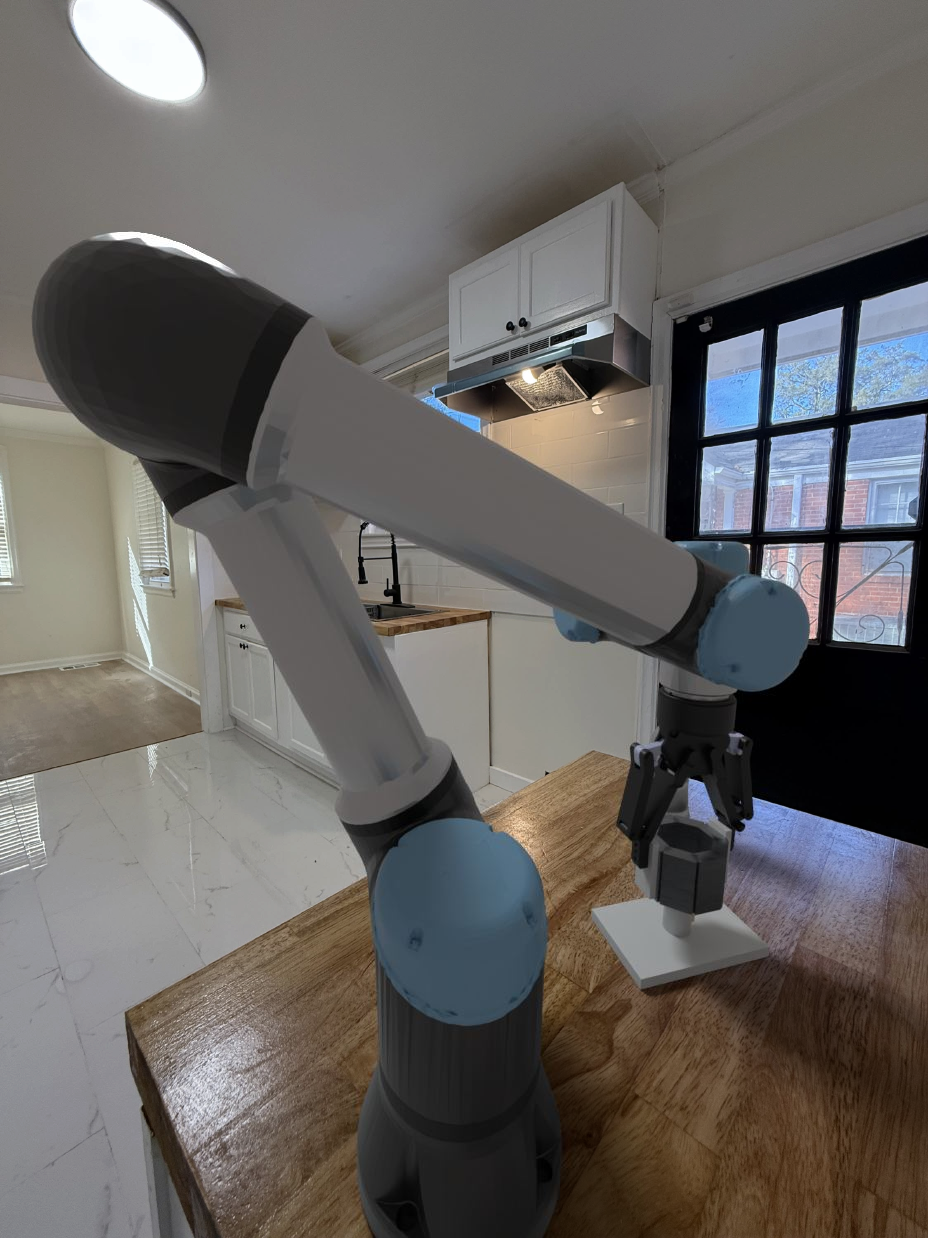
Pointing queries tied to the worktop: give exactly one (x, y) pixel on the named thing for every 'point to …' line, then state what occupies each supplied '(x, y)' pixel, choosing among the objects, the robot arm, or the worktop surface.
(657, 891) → the ring
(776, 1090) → the worktop surface
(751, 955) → the shaft stand
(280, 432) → the robot arm
